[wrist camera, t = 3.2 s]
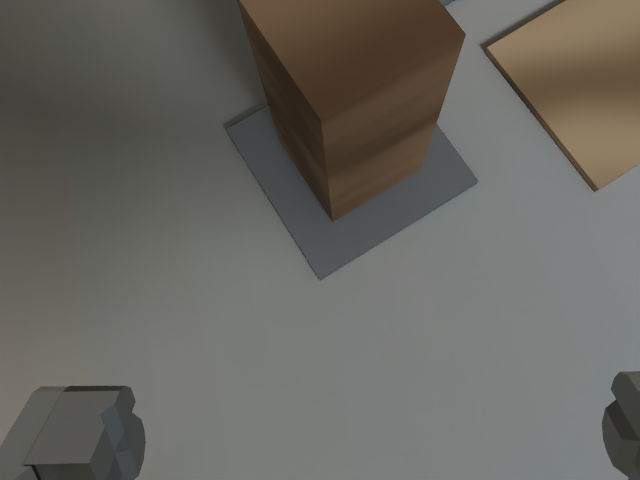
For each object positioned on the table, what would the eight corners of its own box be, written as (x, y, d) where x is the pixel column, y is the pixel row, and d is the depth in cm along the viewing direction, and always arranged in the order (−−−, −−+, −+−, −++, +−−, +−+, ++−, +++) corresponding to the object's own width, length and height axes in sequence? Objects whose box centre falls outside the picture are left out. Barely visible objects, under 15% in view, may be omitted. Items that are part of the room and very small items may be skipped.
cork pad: (484, 52, 27) (486, 47, 26) (625, -32, 27) (629, -38, 27) (594, 192, 25) (598, 189, 25) (742, 98, 26) (748, 94, 25)
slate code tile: (227, 133, 26) (225, 128, 26) (376, 46, 27) (376, 40, 27) (320, 280, 25) (319, 278, 24) (476, 183, 25) (478, 179, 25)
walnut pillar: (278, 139, 26) (235, -7, 16) (364, 88, 26) (372, -85, 16) (332, 222, 25) (320, 120, 15) (421, 168, 25) (465, 34, 15)
